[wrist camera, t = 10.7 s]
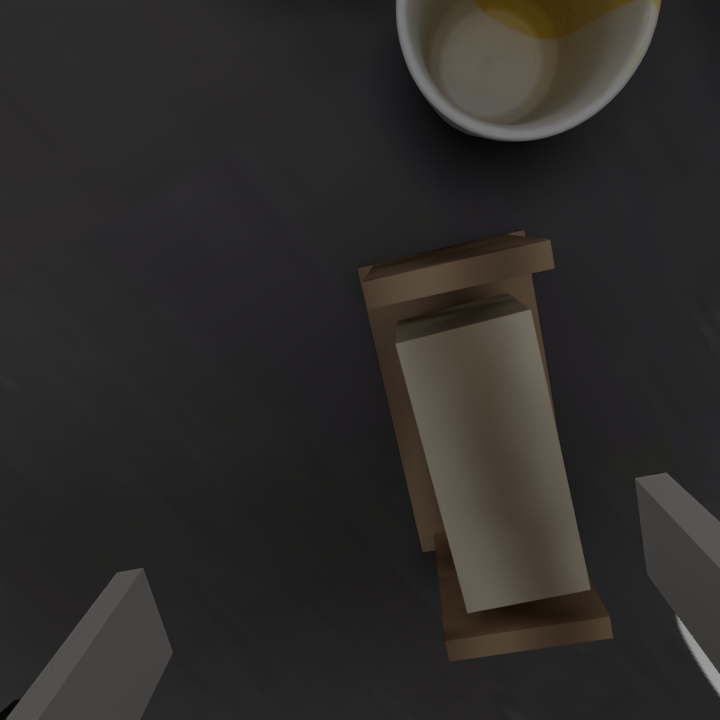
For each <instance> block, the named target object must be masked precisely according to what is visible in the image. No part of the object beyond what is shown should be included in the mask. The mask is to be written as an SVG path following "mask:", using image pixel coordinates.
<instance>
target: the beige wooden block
mask: <svg viewBox="0 0 720 720" xmlns="http://www.w3.org/2000/svg"><path fill="white" fill-rule="evenodd" d="M396 348H397V352H398V355H399V359H400V363H401V367H402V370H403V374H404V378H405V381H406V385H407V389H408V393H409V396H410V400H411V404H412V408H413V411H414V415H415V419H416V423H417V426H418V430H419V434H420V438H421V441H422V445H423V449H424V452H425V456H426V460H427V464H428V467H429V471H430V475H431V479H432V482H433V486H434V490H435V494H436V497H437V501H438V505H439V509H440V512H441V516H442V520H443V524H444V527H445V531H446V535H447V538H448V542H449V546H450V550H451V553H452V557H453V561H454V565H455V568H456V572H457V576H458V580H459V583H460V587H461V591H462V595H463V598H464V602H465V606H466V610H467V613H472V612H477V611H482V610H487V609H493V608H498V607H503V606H508V605H513V604H519V603H524V602H529V601H534V600H540V599H545V598H550V597H555V596H560V595H566V594H571V593H576V592H581V591H587V590H591V589H590V584H589V579H588V574H587V570H586V565H585V560H584V556H583V551H582V546H581V542H580V537H579V532H578V528H577V523H576V518H575V514H574V509H573V504H572V500H571V495H570V490H569V486H568V481H567V476H566V472H565V467H564V462H563V458H562V453H561V448H560V444H559V439H558V434H557V430H556V425H555V420H554V416H553V411H552V406H551V402H550V397H549V392H548V388H547V383H546V378H545V374H544V369H543V364H542V360H541V355H540V350H539V346H538V341H537V336H536V332H535V327H534V322H533V318H532V313H531V309H529V308H528V307H526V306H525V305H523V304H522V303H521V302H519V301H518V300H516V299H515V298H513V297H512V296H510V295H509V294H507V293H504V294H500V295H496V296H492V297H488V298H484V299H481V300H477V301H473V302H469V303H465V304H461V305H457V306H454V307H450V308H446V309H442V310H438V311H434V312H431V313H427V314H423V315H419V316H415V317H411V318H407V319H404V320H400V321H397V324H396Z"/></svg>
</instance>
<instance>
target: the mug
mask: <svg viewBox="0 0 720 720" xmlns="http://www.w3.org/2000/svg"><path fill="white" fill-rule="evenodd" d="M660 5H661V0H396V22H397V30H398V37H399V41H400V46H401V50H402V53H403V56H404V59H405V62H406V64H407V67H408V69H409V72H410V74H411V75H412V77H413V79H414V81H415V83H416V85H417V86H418V88H419V90H420V91H421V93H422V94H423V96H424V97H425V99H426V100H427V101H428V102H429V104H430V105H431V106H432V107H433V108H434V110H435V111H436V113H437V114H438V115H439V116H440V117H441V118H442V119H443V120H444V121H445V122H447V123H448V124H449V125H450V126H452V127H453V128H455V129H457V130H459V131H461V132H463V133H466V134H469V135H472V136H476V137H482V138H486V139H491V140H498V141H531V140H536V139H542V138H546V137H550V136H553V135H556V134H559V133H562V132H564V131H567V130H569V129H571V128H573V127H575V126H577V125H579V124H581V123H582V122H584V121H586V120H587V119H589V118H590V117H592V116H593V115H595V114H596V113H597V112H599V111H600V110H601V109H602V108H603V107H605V106H606V105H607V104H608V103H609V102H610V101H611V100H612V99H613V98H614V97H615V96H616V95H617V94H618V93H619V92H620V91H621V89H622V88H623V87H624V86H625V85H626V84H627V82H628V81H629V79H630V78H631V76H632V75H633V74H634V72H635V70H636V69H637V67H638V66H639V64H640V63H641V61H642V59H643V57H644V55H645V53H646V51H647V49H648V47H649V44H650V42H651V39H652V36H653V33H654V30H655V27H656V24H657V20H658V15H659V10H660Z"/></svg>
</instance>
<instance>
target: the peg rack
mask: <svg viewBox="0 0 720 720" xmlns="http://www.w3.org/2000/svg"><path fill="white" fill-rule="evenodd" d="M554 268H555V267H554V261H553V255H552V248H551V242H550V240H548V239H540V238H533V237H525V232H524V230H519V231H515V232H511V233H506V234H502V235H497V236H493V237H489V238H484V239H480V240H476V241H471V242H467V243H463V244H458V245H454V246H450V247H445V248H441V249H437V250H432V251H428V252H424V253H419V254H415V255H410V256H406V257H402V258H397V259H393V260H389V261H384V262H380V263H376V264H371V265H367V266H363V267H358V268H357V270H358V274H359V278H360V283H361V287H362V291H363V296H364V300H365V304H366V309H367V313H368V317H369V322H370V326H371V330H372V335H373V339H374V343H375V348H376V352H377V356H378V361H379V365H380V369H381V374H382V378H383V382H384V387H385V391H386V395H387V400H388V404H389V408H390V413H391V417H392V421H393V426H394V430H395V434H396V439H397V443H398V447H399V452H400V456H401V460H402V465H403V469H404V473H405V478H406V482H407V486H408V491H409V495H410V499H411V504H412V508H413V512H414V517H415V521H416V525H417V530H418V534H419V538H420V543H421V547H422V551H423V552H428V551H434V550H436V560H437V570H438V580H439V589H440V599H441V609H442V618H443V628H444V638H445V644H446V648H447V653H448V657H449V661H457V660H464V659H471V658H478V657H485V656H492V655H498V654H505V653H512V652H519V651H526V650H533V649H540V648H547V647H554V646H561V645H568V644H574V643H581V642H588V641H595V640H602V639H609V638H613V635H612V629H611V622H610V617H609V615H608V613H607V611H606V609H605V607H604V605H603V603H602V601H601V599H600V597H599V596H598V594H597V592H596V590H595V588H594V586H593V584H592V582H591V580H590V578H589V577H588V579H589V584H590V589H591V590H587V591H581V592H576V593H571V594H566V595H560V596H555V597H550V598H545V599H540V600H534V601H529V602H524V603H519V604H513V605H508V606H503V607H498V608H493V609H487V610H482V611H477V612H472V613H467V610H466V606H465V602H464V598H463V595H462V591H461V587H460V583H459V580H458V576H457V572H456V568H455V565H454V561H453V557H452V553H451V550H450V546H449V542H448V538H447V535H446V531H445V527H444V524H443V520H442V516H441V512H440V509H439V505H438V501H437V497H436V494H435V490H434V486H433V482H432V479H431V475H430V471H429V467H428V464H427V460H426V456H425V452H424V449H423V445H422V441H421V438H420V434H419V430H418V426H417V423H416V419H415V415H414V411H413V408H412V404H411V400H410V396H409V393H408V389H407V385H406V381H405V378H404V374H403V370H402V367H401V363H400V359H399V355H398V352H397V348H396V324H397V321H400V320H404V319H407V318H411V317H415V316H419V315H423V314H427V313H431V312H434V311H438V310H442V309H446V308H450V307H454V306H457V305H461V304H465V303H469V302H473V301H477V300H481V299H484V298H488V297H492V296H496V295H500V294H504V293H507V294H509V295H510V296H512V297H513V298H515V299H516V300H518V301H519V302H521V303H522V304H523V305H525V306H526V307H528V308H529V309H531V313H532V318H533V322H534V327H535V332H536V336H537V341H538V346H539V350H540V355H541V360H542V364H543V369H544V374H545V378H546V383H547V388H548V392H549V397H550V402H551V406H552V411H553V416H554V420H555V425H556V430H557V424H556V418H555V412H554V406H553V400H552V394H551V388H550V382H549V376H548V370H547V364H546V358H545V352H544V346H543V340H542V334H541V328H540V322H539V316H538V310H537V304H536V298H535V292H534V286H533V280H532V274H531V273H536V272H540V271H545V270H549V269H554ZM557 434H558V430H557ZM558 439H559V436H558ZM559 444H560V442H559Z"/></svg>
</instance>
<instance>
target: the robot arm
mask: <svg viewBox="0 0 720 720" xmlns="http://www.w3.org/2000/svg"><path fill="white" fill-rule="evenodd" d="M635 483H636V491H637V499H638V507H639V514H640V522H641V530H642V538H643V546H644V553H645V561H646V569H647V574H648V576H649V577H650V578H651V580H652V581H653V583H654V584H655V585H656V587H657V588H658V589H659V591H660V592H661V594H662V595H663V596H664V598H665V599H666V600H667V602H668V603H669V605H670V606H671V607H672V609H673V610H674V611H675V613H676V614H677V616H678V617H679V618H680V620H681V621H682V622H683V624H684V625H685V627H686V628H687V629H688V631H689V632H690V633H691V635H692V636H693V638H694V639H695V640H696V642H697V643H698V644H699V646H700V647H701V649H702V650H703V651H704V653H705V654H706V655H707V657H708V658H709V660H710V661H711V662H712V663H713V665H714V666H715V668H716V669H717V670H718V672H719V673H720V522H719V521H718V520H717V519H716V518H715V517H714V516H713V515H712V514H711V513H710V512H708V511H707V510H706V509H705V508H704V507H703V506H702V505H701V504H700V503H699V502H698V501H696V500H695V499H694V498H693V497H692V496H691V495H690V494H689V493H688V492H687V491H686V490H684V489H683V488H682V487H681V486H680V485H679V484H678V483H677V482H676V481H675V480H674V479H673V478H671V477H670V476H669V475H668V474H667V473H662V474H656V475H651V476H645V477H640V478H635ZM172 653H173V652H172V649H171V646H170V643H169V640H168V637H167V634H166V632H165V629H164V626H163V623H162V620H161V617H160V615H159V612H158V609H157V606H156V603H155V600H154V597H153V595H152V592H151V589H150V586H149V583H148V580H147V578H146V575H145V572H144V569H143V568H140V569H134V570H129V571H123V572H118V573H116V574H115V576H114V577H113V578H112V580H111V581H110V582H109V584H108V585H107V586H106V588H105V589H104V590H103V592H102V593H101V594H100V596H99V597H98V598H97V600H96V601H95V602H94V603H93V605H92V606H91V607H90V609H89V610H88V611H87V613H86V614H85V615H84V617H83V618H82V619H81V621H80V622H79V623H78V625H77V626H76V627H75V629H74V630H73V631H72V633H71V634H70V635H69V637H68V638H67V639H66V640H65V642H64V643H63V644H62V646H61V647H60V648H59V650H58V651H57V652H56V654H55V655H54V656H53V658H52V659H51V660H50V662H49V663H48V664H47V666H46V667H45V668H44V670H43V671H42V672H41V674H40V675H39V676H38V677H37V679H36V680H35V681H34V683H33V684H32V685H31V687H30V688H29V689H28V691H27V692H26V693H25V695H24V696H23V697H22V699H19V700H14V701H13V702H12V703H11V704H10V705H9V706H8V707H6V708H5V709H4V710H3V711H2V712H1V713H0V720H140V719H141V717H142V715H143V713H144V711H145V709H146V707H147V704H148V702H149V700H150V698H151V696H152V694H153V692H154V690H155V688H156V686H157V684H158V682H159V680H160V678H161V676H162V674H163V672H164V670H165V668H166V666H167V664H168V662H169V660H170V658H171V655H172Z"/></svg>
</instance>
